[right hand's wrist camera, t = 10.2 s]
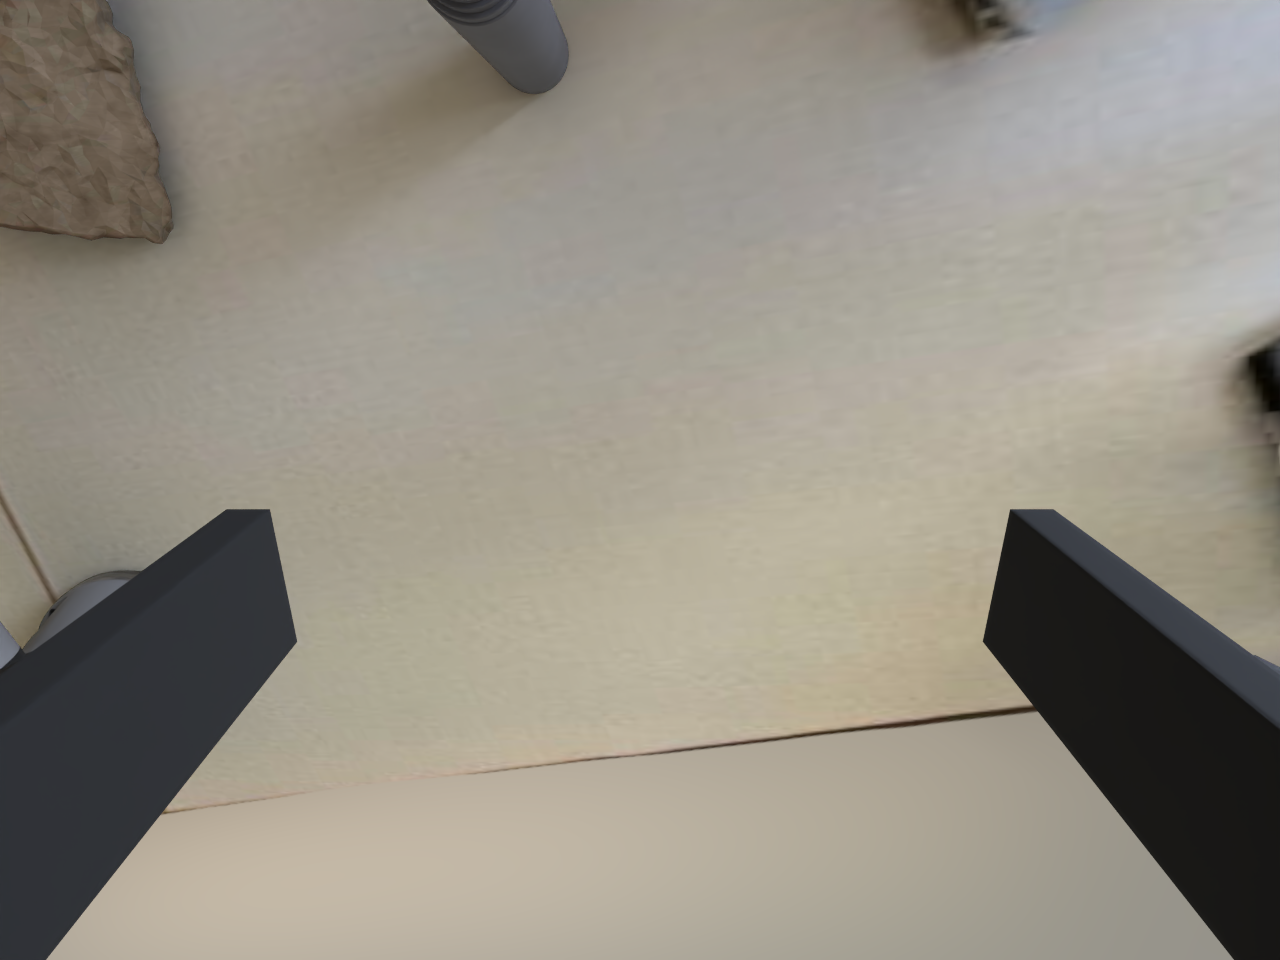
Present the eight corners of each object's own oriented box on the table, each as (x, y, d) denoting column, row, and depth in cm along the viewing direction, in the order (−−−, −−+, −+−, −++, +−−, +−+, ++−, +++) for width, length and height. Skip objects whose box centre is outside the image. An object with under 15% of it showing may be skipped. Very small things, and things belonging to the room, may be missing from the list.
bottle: (582, 65, 46) (532, -68, 24) (524, 109, 47) (424, 20, 25) (540, -6, 44) (446, -218, 22) (481, 40, 45) (334, -120, 23)
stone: (-192, -181, 38) (-290, -216, 33) (120, -139, 42) (74, -164, 37) (-35, 223, 49) (-91, 243, 44) (203, 231, 52) (177, 250, 47)
